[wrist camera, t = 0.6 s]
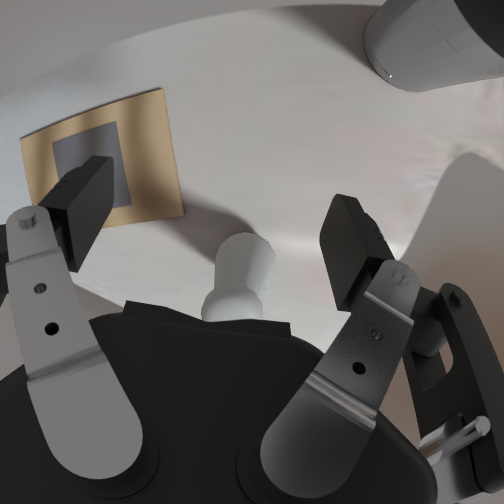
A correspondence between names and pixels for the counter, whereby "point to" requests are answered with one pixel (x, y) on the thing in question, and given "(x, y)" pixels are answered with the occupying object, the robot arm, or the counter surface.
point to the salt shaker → (240, 278)
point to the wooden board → (120, 149)
